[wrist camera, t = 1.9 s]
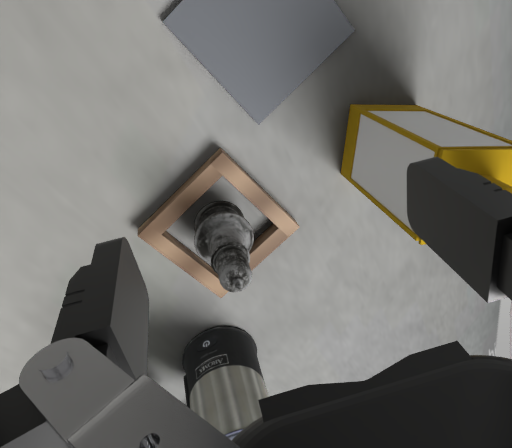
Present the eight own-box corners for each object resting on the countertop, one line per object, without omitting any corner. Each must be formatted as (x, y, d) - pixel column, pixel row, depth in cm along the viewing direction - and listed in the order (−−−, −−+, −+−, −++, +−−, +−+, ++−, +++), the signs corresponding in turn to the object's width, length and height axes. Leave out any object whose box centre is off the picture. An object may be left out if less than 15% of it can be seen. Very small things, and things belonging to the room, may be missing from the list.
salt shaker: (258, 218, 46) (289, 281, 36) (223, 258, 47) (242, 329, 37) (215, 187, 44) (235, 244, 33) (179, 229, 45) (187, 297, 34)
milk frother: (223, 311, 51) (247, 415, 38) (302, 373, 58) (345, 479, 45) (137, 383, 53) (132, 506, 40) (224, 435, 60) (243, 553, 47)
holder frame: (138, 228, 44) (137, 235, 42) (220, 147, 42) (222, 152, 40) (219, 289, 49) (221, 298, 48) (295, 220, 47) (299, 227, 46)
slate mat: (162, 21, 36) (162, 21, 36) (267, -93, 34) (269, -94, 34) (257, 123, 42) (258, 124, 41) (352, 30, 40) (355, 30, 39)
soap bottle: (446, 171, 48) (663, 292, 28) (340, 173, 46) (493, 309, 25) (463, 105, 45) (721, 187, 25) (350, 104, 43) (534, 195, 22)
